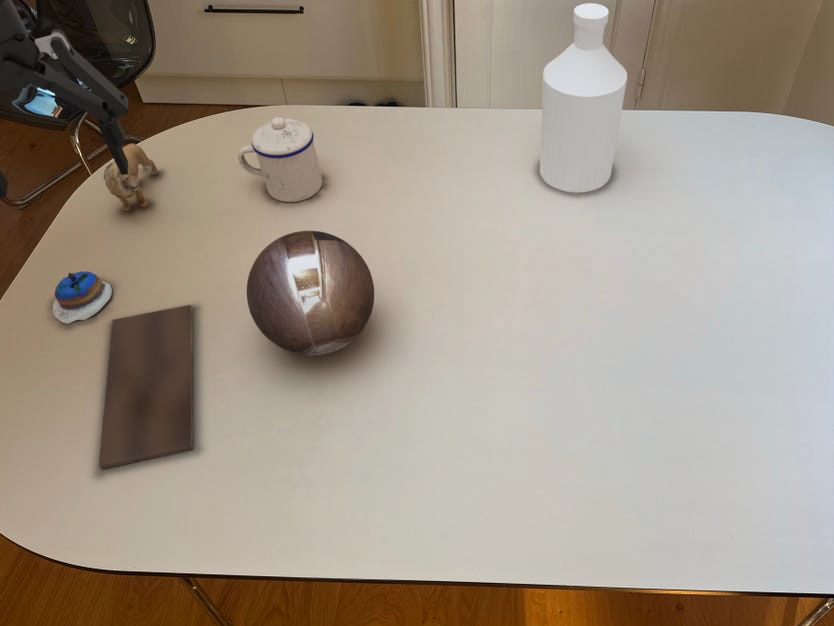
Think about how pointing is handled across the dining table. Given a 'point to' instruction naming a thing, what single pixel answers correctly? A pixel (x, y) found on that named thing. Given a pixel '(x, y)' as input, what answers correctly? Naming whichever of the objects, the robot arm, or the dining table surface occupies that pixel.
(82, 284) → the dessert
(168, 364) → the walnut board
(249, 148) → the teacup with lid
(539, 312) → the dining table surface
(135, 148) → the lion figurine
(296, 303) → the wooden sphere
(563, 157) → the bottle
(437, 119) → the dining table surface
